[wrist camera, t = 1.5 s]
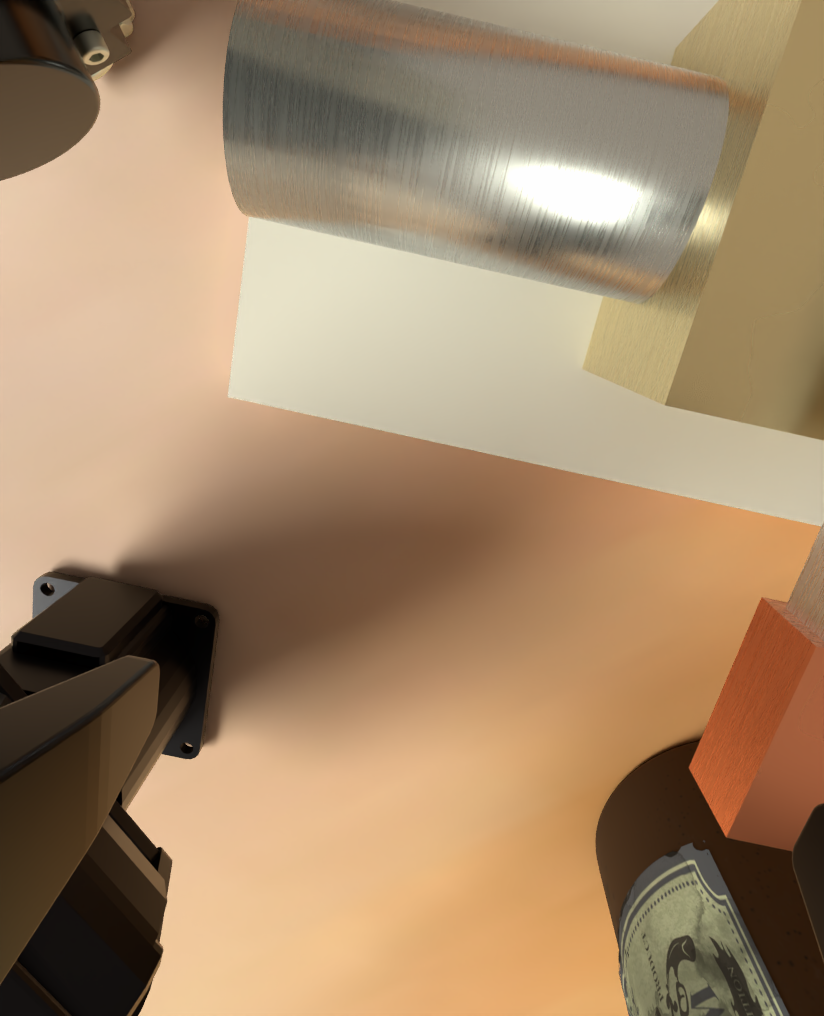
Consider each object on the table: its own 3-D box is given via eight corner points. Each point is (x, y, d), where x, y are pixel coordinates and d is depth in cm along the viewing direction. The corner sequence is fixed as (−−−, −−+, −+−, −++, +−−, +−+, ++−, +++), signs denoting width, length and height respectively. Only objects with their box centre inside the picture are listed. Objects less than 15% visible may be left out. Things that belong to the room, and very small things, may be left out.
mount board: (1073, 572, 21) (1119, 591, 19) (242, 390, 20) (227, 396, 19) (1356, 93, 16) (1443, 74, 15) (311, -156, 16) (298, -202, 14)
